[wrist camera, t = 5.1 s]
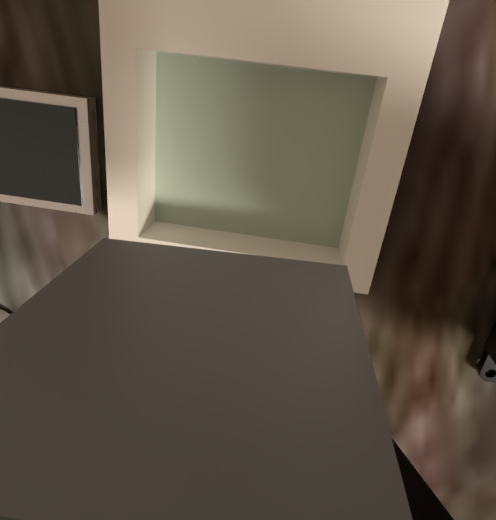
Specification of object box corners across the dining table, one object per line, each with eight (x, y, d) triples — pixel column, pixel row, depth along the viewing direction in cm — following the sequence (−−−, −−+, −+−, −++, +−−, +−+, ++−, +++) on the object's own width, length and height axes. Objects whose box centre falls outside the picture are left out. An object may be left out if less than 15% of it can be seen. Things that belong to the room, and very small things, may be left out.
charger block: (346, 265, 8) (433, 602, 3) (311, 443, 10) (324, 814, 5) (104, 237, 8) (-205, 488, 3) (120, 414, 10) (-50, 732, 5)
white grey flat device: (483, -215, 12) (530, -290, 9) (360, 268, 18) (368, 296, 16) (123, -239, 12) (81, -315, 10) (132, 234, 19) (108, 255, 17)
